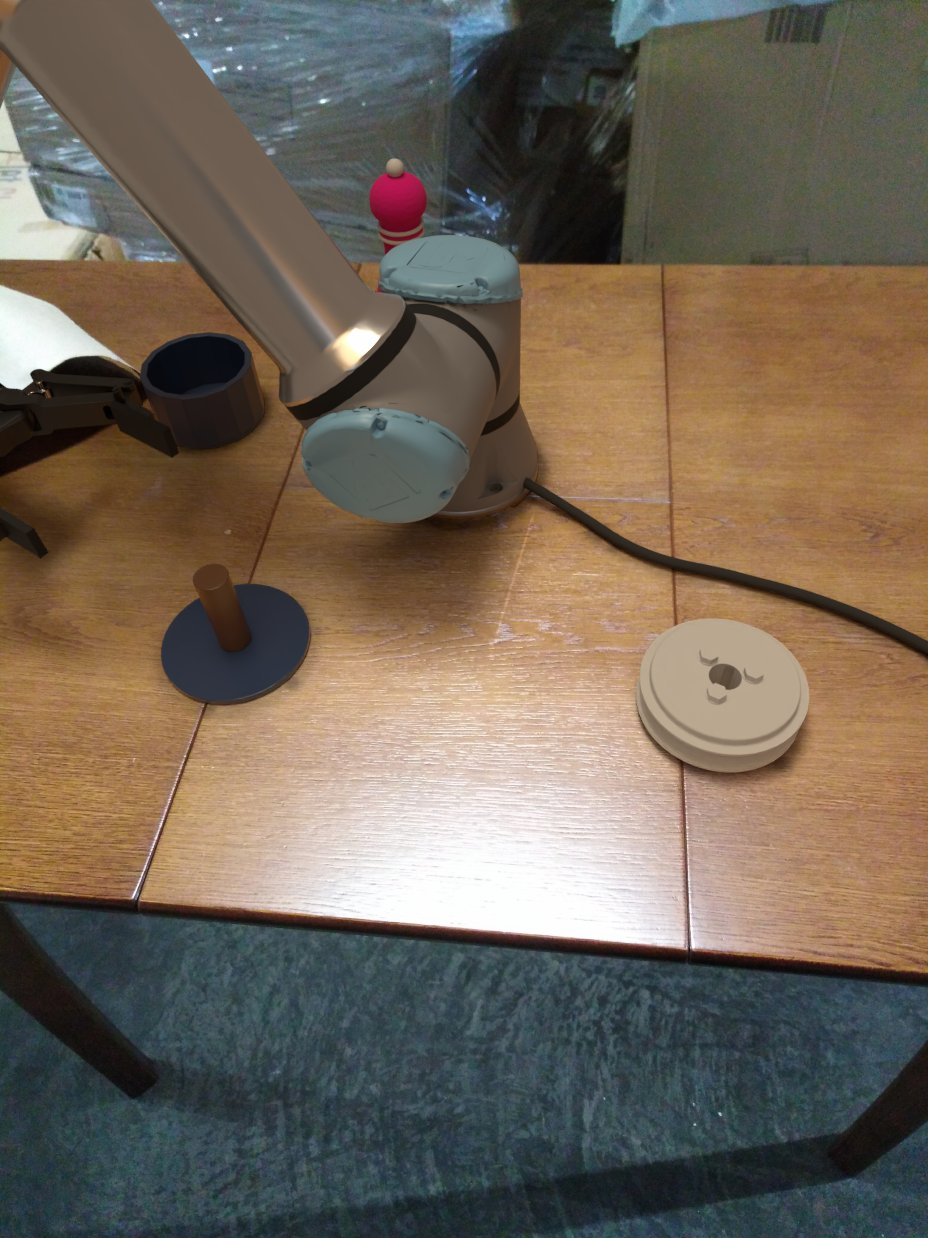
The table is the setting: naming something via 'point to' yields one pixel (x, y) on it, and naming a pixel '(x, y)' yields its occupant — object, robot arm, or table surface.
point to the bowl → (204, 389)
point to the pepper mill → (398, 206)
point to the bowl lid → (234, 640)
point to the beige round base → (721, 695)
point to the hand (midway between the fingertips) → (107, 490)
